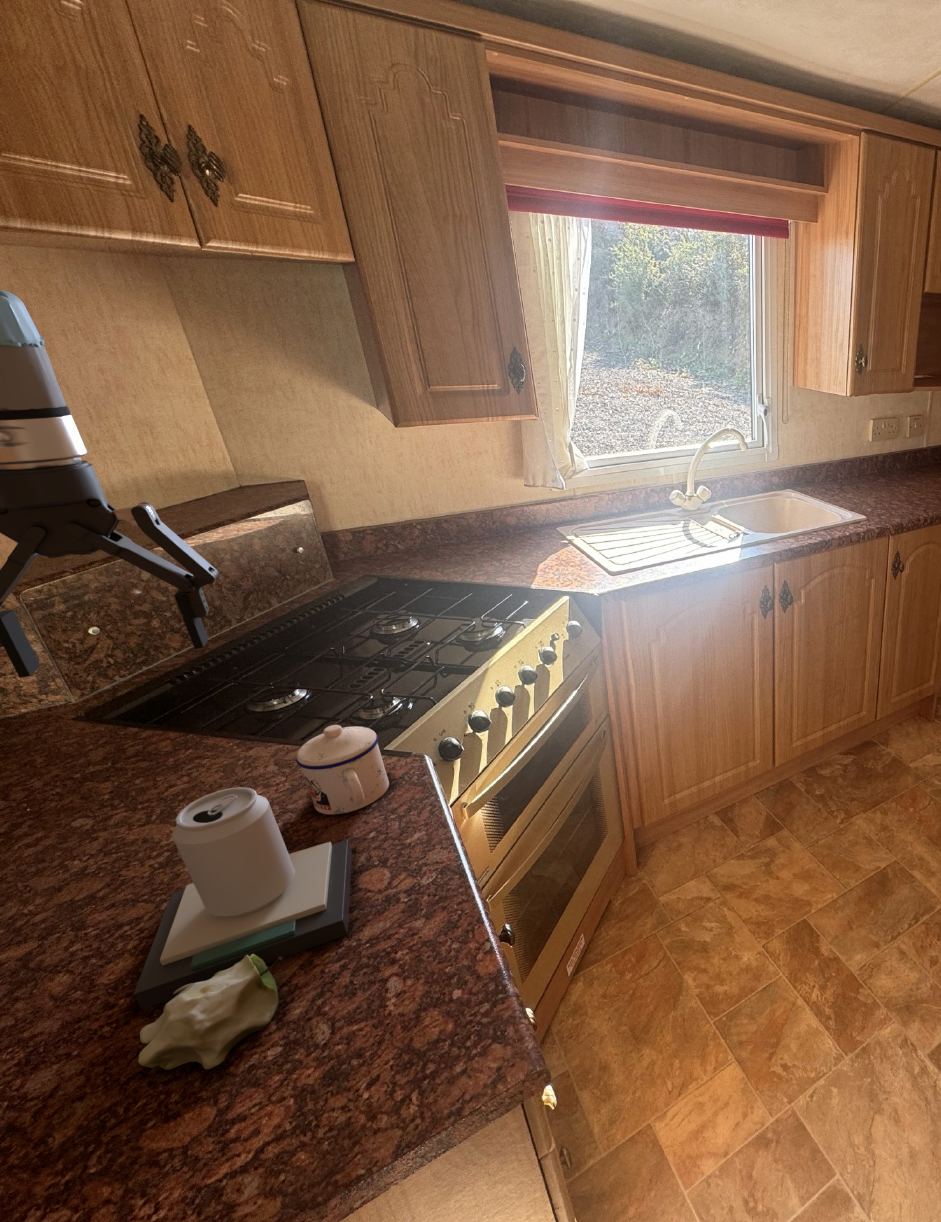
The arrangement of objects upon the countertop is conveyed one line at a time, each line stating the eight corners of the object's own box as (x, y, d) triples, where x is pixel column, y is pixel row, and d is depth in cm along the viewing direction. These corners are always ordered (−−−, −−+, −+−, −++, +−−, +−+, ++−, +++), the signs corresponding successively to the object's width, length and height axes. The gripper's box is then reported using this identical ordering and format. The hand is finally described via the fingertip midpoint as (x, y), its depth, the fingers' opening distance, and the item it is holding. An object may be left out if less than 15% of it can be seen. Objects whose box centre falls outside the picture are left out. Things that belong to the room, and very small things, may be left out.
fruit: (306, 987, 65) (296, 934, 61) (248, 1090, 56) (233, 1035, 53) (197, 988, 62) (181, 934, 59) (121, 1095, 54) (97, 1039, 51)
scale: (145, 1016, 60) (129, 988, 59) (181, 913, 71) (168, 887, 70) (350, 940, 68) (340, 914, 67) (354, 858, 79) (346, 834, 78)
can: (189, 914, 66) (144, 822, 62) (262, 862, 73) (227, 776, 69) (245, 929, 65) (203, 836, 60) (314, 875, 72) (282, 787, 67)
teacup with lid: (308, 798, 89) (283, 727, 85) (383, 770, 95) (363, 703, 91) (325, 842, 82) (299, 766, 77) (406, 809, 88) (385, 737, 83)
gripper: (-203, 480, 53) (-73, 701, 61) (194, 458, 66) (259, 645, 74) (-145, 466, 59) (-33, 670, 67) (210, 449, 71) (268, 623, 79)
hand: (120, 657), depth 70 cm, fingers open, 13 cm apart
